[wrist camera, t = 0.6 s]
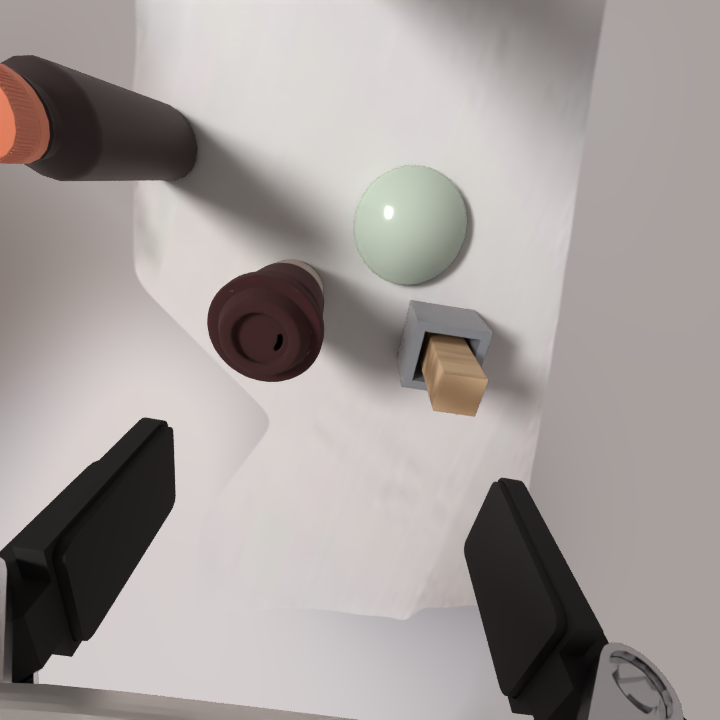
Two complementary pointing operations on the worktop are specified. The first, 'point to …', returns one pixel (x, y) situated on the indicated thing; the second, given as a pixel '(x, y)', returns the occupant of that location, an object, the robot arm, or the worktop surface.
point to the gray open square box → (443, 323)
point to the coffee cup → (269, 321)
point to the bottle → (87, 126)
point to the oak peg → (451, 374)
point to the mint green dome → (410, 224)
